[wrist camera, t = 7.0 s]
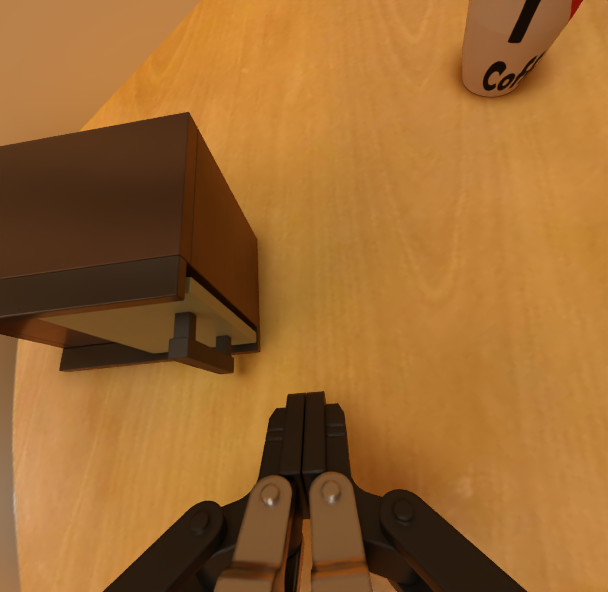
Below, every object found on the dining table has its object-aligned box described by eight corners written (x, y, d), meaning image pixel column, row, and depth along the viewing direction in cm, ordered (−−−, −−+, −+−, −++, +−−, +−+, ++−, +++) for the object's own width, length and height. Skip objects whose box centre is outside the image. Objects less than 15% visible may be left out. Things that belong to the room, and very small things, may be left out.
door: (257, 375, 22) (187, 346, 13) (150, 385, 23) (7, 365, 14) (256, 332, 24) (191, 276, 14) (154, 343, 24) (25, 297, 15)
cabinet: (260, 352, 24) (176, 295, 12) (65, 372, 26) (-172, 338, 14) (257, 238, 27) (189, 111, 16) (85, 262, 29) (-91, 162, 17)
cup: (468, 120, 29) (526, -20, 19) (430, 64, 32) (464, -81, 22) (556, 91, 29) (656, -65, 19) (509, 37, 31) (576, -120, 22)
